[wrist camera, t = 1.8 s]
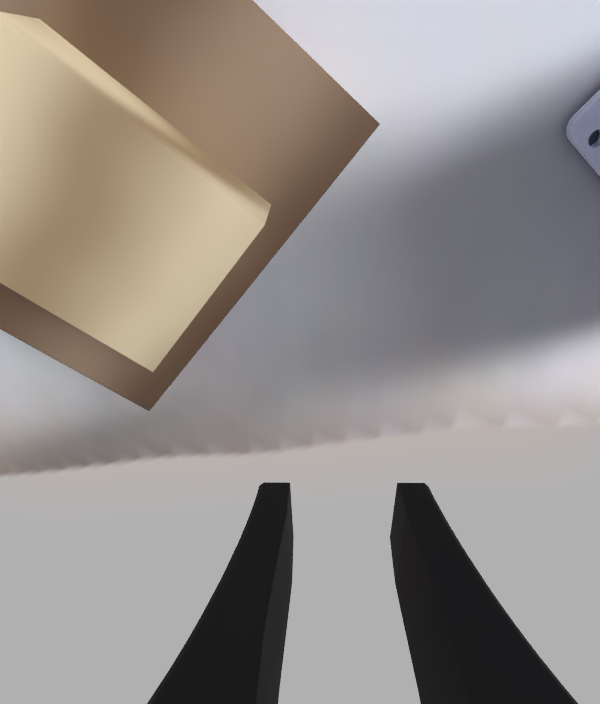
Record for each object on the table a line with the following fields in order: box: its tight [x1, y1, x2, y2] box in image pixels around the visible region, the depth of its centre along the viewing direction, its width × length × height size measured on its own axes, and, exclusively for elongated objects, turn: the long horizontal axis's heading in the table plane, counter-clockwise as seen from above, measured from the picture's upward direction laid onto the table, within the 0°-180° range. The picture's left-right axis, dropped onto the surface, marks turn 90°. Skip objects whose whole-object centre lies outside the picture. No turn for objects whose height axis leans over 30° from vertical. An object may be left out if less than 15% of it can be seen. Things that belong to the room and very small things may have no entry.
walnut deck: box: [0, 0, 380, 411], centre depth 14 cm, size 12×13×3 cm
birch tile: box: [0, 12, 271, 372], centre depth 12 cm, size 7×6×2 cm
